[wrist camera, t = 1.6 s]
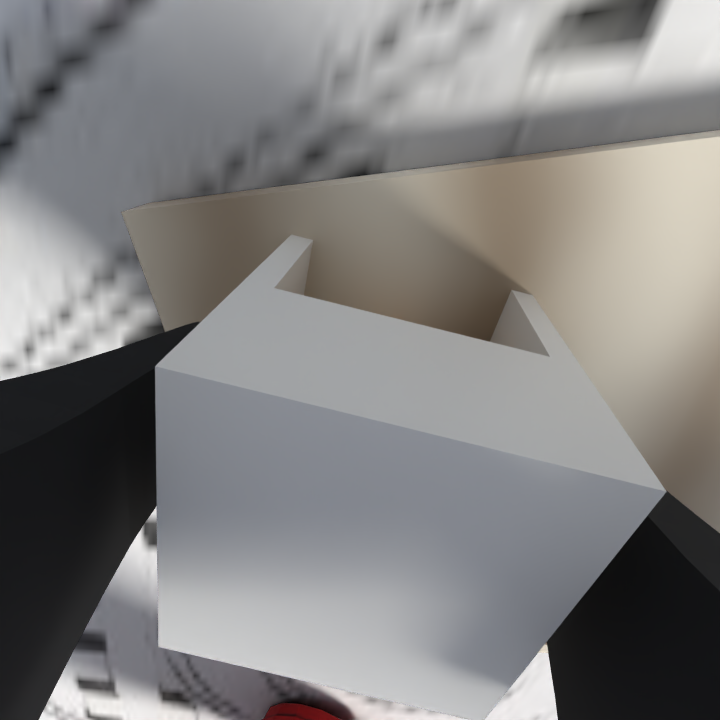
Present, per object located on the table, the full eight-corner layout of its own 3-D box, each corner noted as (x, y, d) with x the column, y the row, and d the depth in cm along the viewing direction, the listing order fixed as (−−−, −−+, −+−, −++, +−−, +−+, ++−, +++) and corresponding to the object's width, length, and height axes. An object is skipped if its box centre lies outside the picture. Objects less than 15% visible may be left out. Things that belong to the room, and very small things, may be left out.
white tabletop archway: (533, 295, 10) (665, 491, 5) (453, 473, 13) (482, 722, 7) (291, 234, 10) (155, 366, 5) (263, 427, 13) (158, 647, 7)
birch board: (836, 114, 9) (898, 114, 8) (667, 623, 17) (686, 660, 16) (148, 202, 11) (118, 212, 10) (287, 614, 19) (279, 645, 18)
